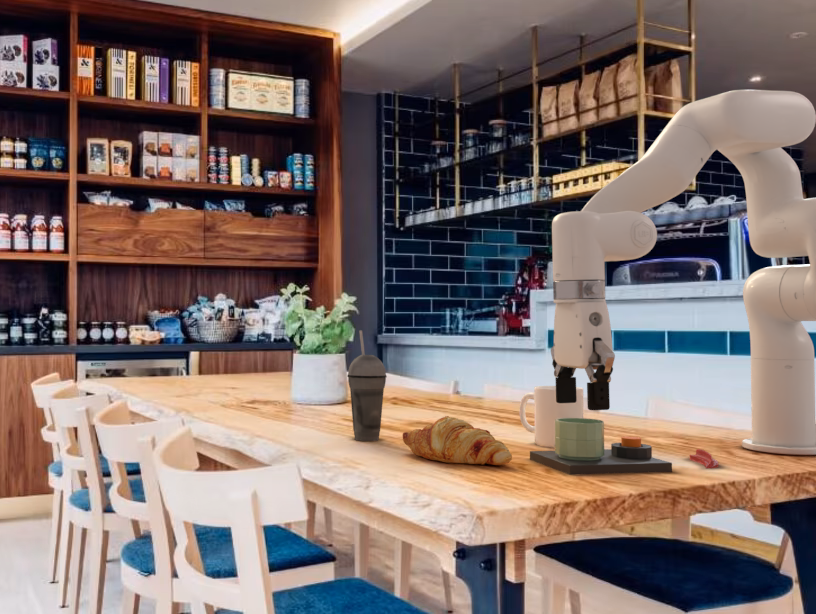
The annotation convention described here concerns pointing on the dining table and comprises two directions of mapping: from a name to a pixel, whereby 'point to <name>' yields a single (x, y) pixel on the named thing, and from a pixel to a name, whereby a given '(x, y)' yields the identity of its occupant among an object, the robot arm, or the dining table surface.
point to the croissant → (457, 443)
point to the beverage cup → (366, 394)
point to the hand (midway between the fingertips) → (581, 406)
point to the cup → (549, 413)
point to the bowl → (579, 438)
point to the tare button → (631, 441)
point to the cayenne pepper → (704, 459)
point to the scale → (606, 461)
